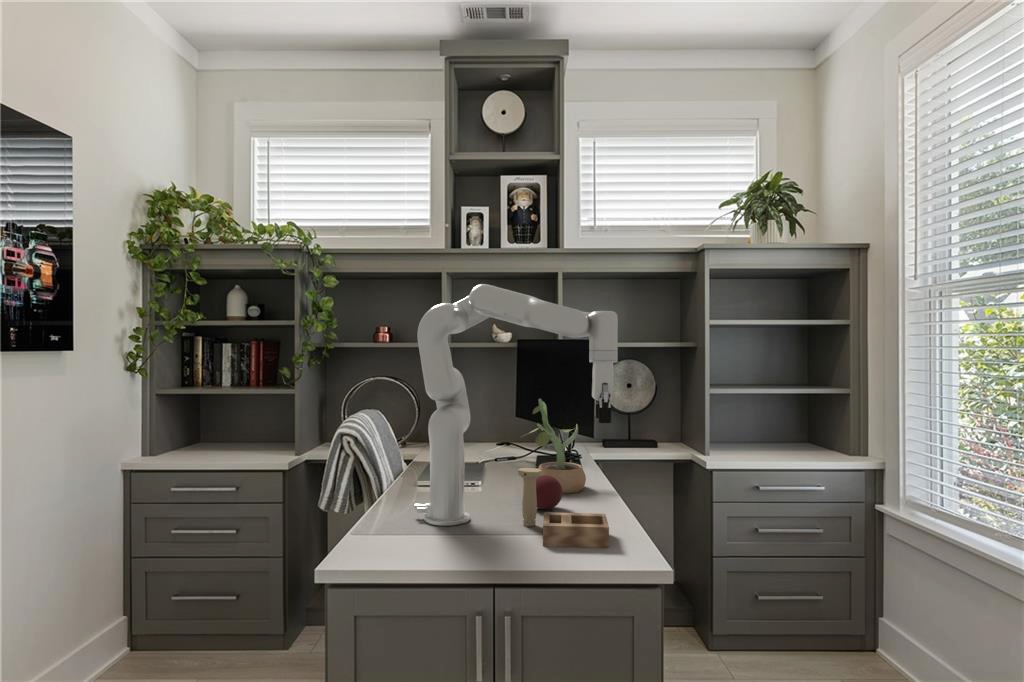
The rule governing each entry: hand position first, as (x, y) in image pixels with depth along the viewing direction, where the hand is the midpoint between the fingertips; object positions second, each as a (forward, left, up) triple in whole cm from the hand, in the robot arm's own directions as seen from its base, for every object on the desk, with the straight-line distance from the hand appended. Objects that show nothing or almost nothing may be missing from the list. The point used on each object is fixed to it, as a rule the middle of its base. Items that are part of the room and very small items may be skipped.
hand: (603, 420), depth 174 cm
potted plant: (-14, +44, -29) cm, 54 cm away
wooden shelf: (-8, -11, -29) cm, 32 cm away
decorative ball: (-16, +17, -29) cm, 37 cm away
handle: (-20, 0, -29) cm, 35 cm away
